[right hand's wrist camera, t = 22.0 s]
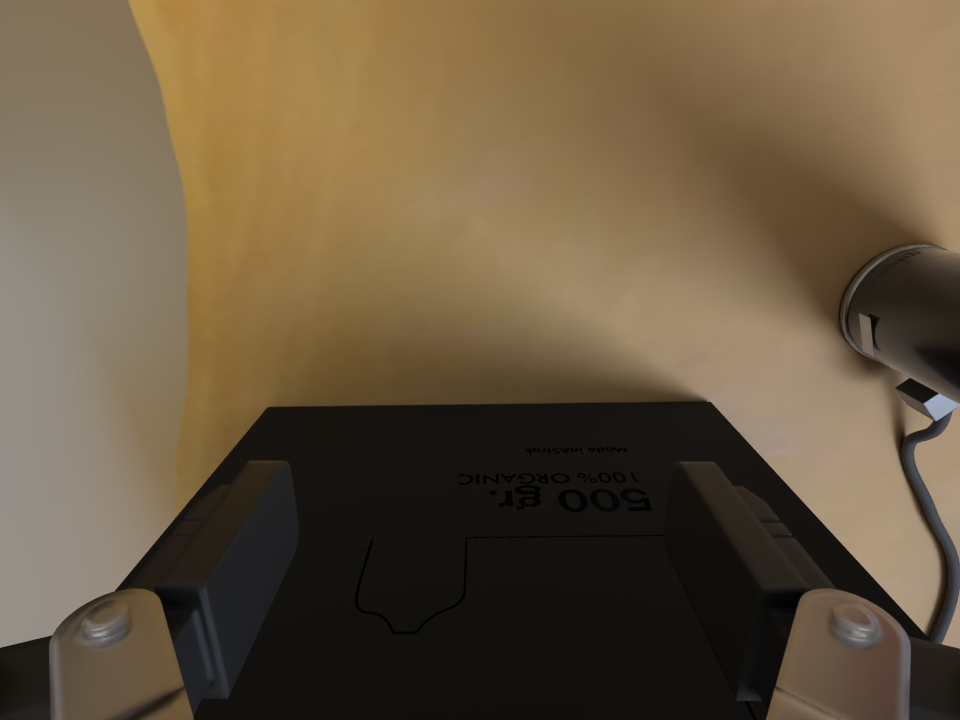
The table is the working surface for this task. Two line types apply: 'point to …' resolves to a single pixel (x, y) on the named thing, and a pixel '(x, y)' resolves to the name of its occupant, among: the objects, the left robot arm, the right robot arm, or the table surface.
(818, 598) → the right robot arm
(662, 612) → the cardboard box
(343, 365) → the table surface
